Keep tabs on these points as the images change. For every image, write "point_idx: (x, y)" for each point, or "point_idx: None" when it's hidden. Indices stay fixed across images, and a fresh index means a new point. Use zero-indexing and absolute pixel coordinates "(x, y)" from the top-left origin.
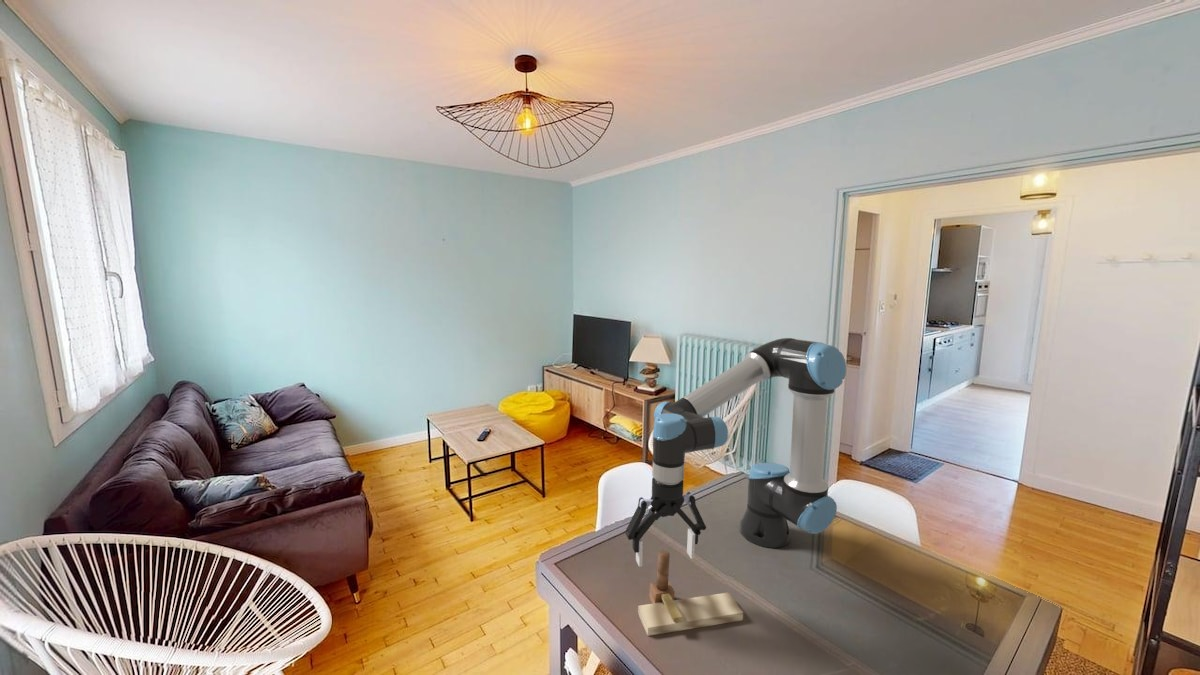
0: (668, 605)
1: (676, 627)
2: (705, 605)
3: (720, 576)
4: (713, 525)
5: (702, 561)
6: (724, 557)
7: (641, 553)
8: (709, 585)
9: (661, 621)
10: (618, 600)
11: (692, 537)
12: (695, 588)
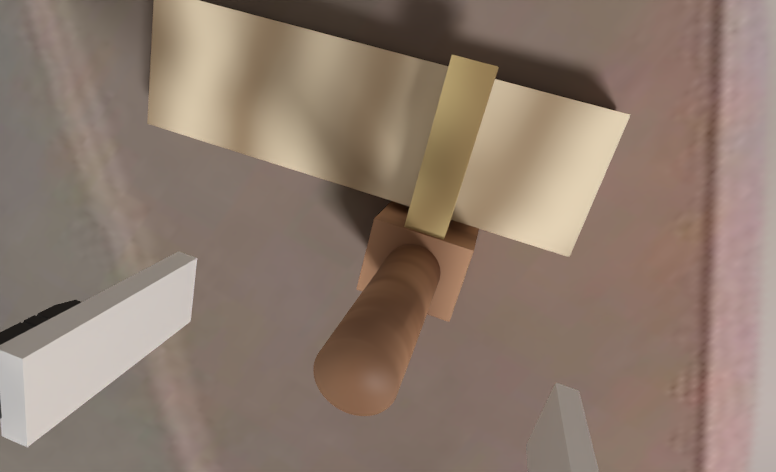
0: (462, 158)
1: None
2: (281, 105)
3: (130, 236)
4: None
5: None
6: None
7: (580, 467)
8: (193, 220)
9: (536, 118)
10: (588, 345)
11: (48, 342)
12: (252, 235)
